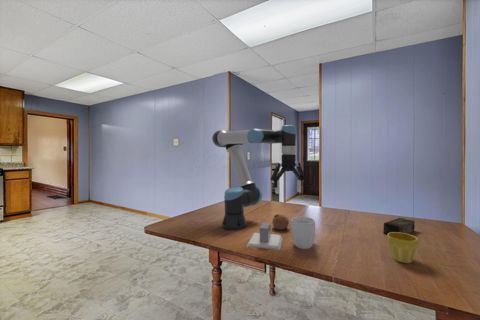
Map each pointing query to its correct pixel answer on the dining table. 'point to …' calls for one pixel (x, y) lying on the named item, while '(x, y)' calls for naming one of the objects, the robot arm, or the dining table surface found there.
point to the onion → (280, 222)
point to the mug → (303, 231)
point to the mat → (265, 247)
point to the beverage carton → (399, 226)
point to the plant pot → (402, 246)
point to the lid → (265, 237)
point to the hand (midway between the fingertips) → (288, 192)
